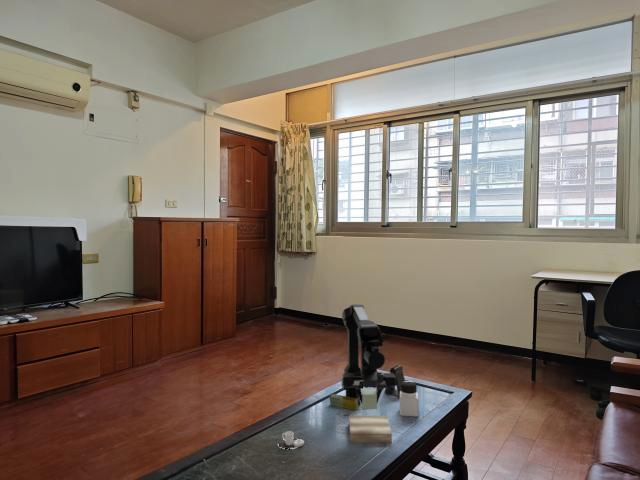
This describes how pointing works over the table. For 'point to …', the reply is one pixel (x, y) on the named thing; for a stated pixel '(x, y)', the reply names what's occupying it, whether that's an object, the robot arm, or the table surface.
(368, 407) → the green cube
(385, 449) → the table surface
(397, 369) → the phone stand
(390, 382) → the robot arm
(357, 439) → the base block
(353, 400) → the medication box
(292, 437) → the teacup and saucer
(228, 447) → the table surface
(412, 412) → the medicine bottle
